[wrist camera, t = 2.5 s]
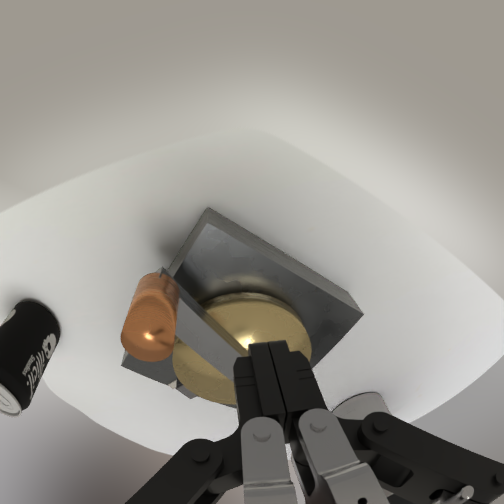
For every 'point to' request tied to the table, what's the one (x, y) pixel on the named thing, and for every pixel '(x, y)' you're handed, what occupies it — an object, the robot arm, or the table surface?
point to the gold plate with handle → (205, 333)
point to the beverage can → (24, 354)
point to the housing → (253, 286)
